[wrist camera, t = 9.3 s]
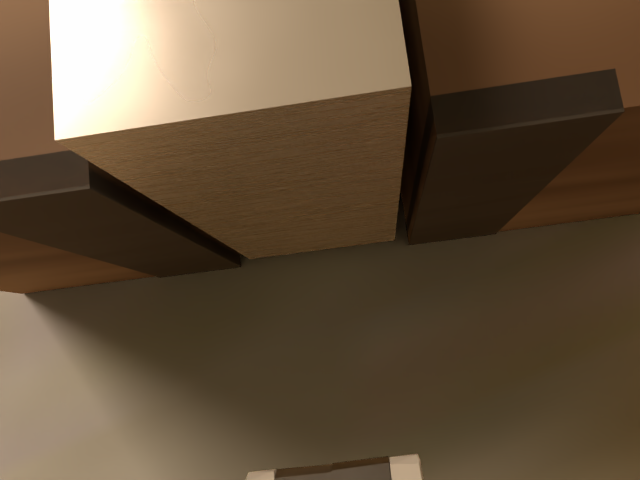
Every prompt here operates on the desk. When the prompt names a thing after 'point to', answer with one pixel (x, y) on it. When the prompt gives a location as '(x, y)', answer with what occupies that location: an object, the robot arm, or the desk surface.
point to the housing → (419, 155)
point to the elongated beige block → (242, 112)
